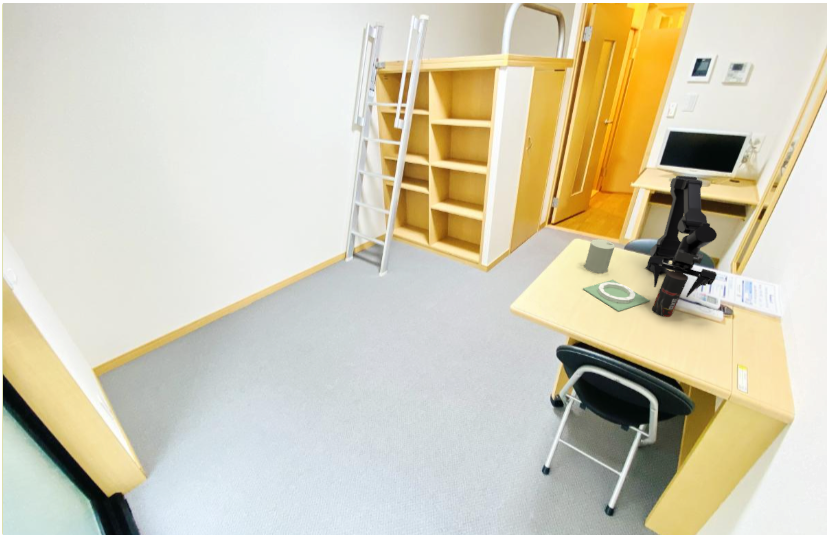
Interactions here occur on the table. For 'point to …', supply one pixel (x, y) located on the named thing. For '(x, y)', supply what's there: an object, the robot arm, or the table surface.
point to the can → (599, 256)
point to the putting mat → (616, 295)
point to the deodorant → (669, 293)
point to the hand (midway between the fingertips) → (670, 291)
